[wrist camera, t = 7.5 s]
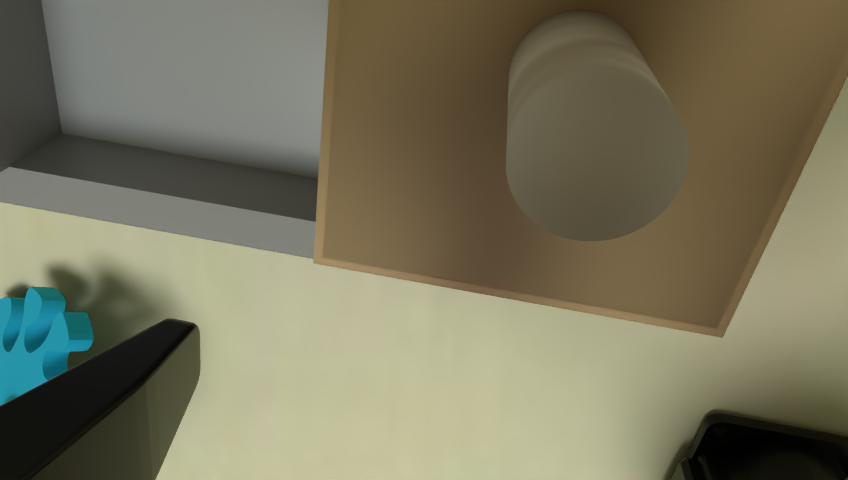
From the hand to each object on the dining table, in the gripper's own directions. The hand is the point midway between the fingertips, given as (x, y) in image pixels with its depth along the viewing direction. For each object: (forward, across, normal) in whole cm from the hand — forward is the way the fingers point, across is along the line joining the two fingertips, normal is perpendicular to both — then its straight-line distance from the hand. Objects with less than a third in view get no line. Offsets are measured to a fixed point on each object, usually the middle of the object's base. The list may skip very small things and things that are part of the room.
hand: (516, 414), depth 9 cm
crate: (+11, 0, -3) cm, 11 cm away
